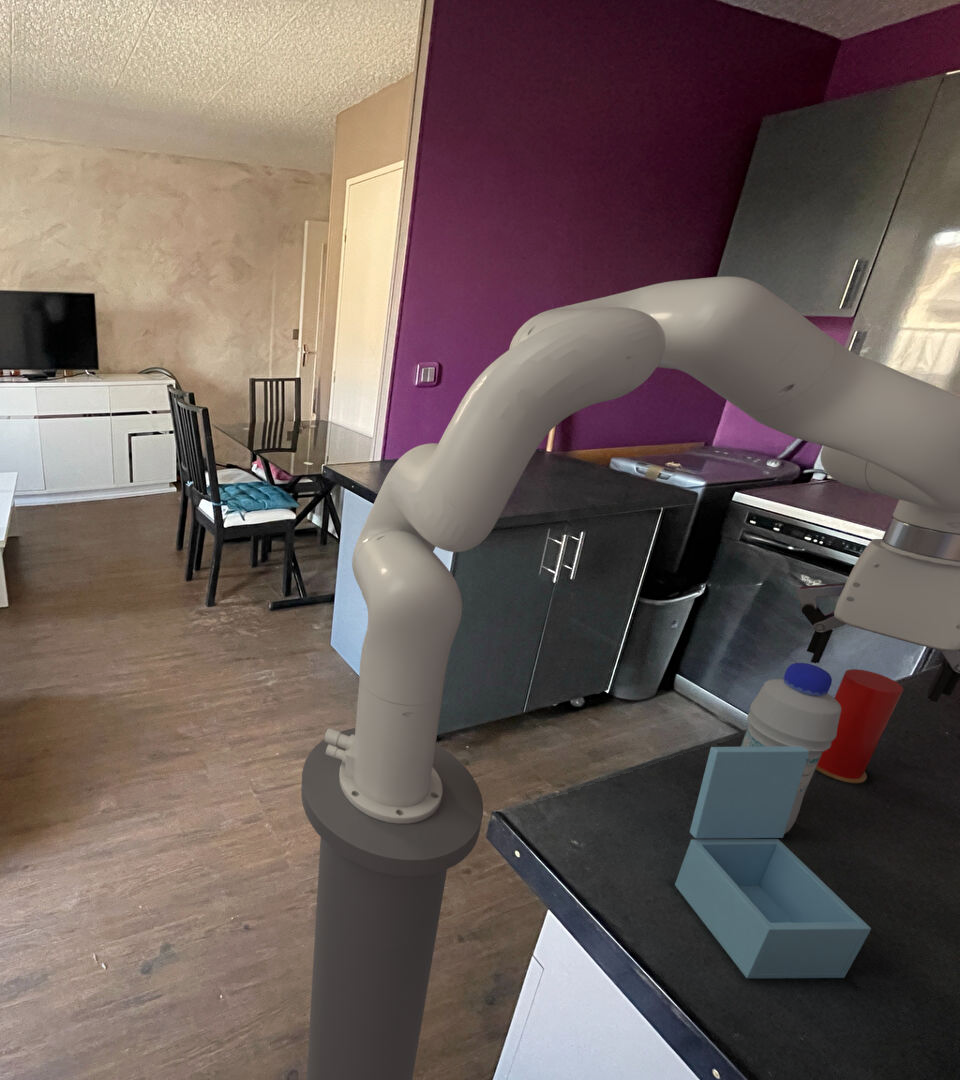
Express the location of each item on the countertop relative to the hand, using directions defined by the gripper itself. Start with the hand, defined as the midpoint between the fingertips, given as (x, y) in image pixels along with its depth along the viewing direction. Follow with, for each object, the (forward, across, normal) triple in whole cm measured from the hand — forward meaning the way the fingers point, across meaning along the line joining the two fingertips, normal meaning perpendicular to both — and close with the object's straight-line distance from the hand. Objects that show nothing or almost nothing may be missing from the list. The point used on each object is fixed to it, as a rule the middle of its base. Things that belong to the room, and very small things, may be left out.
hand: (871, 676), depth 68 cm
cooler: (+14, +1, +34) cm, 36 cm away
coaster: (+13, 0, -1) cm, 13 cm away
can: (+13, 0, -1) cm, 13 cm away
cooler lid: (+3, +5, +31) cm, 31 cm away
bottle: (+14, +4, +18) cm, 23 cm away
